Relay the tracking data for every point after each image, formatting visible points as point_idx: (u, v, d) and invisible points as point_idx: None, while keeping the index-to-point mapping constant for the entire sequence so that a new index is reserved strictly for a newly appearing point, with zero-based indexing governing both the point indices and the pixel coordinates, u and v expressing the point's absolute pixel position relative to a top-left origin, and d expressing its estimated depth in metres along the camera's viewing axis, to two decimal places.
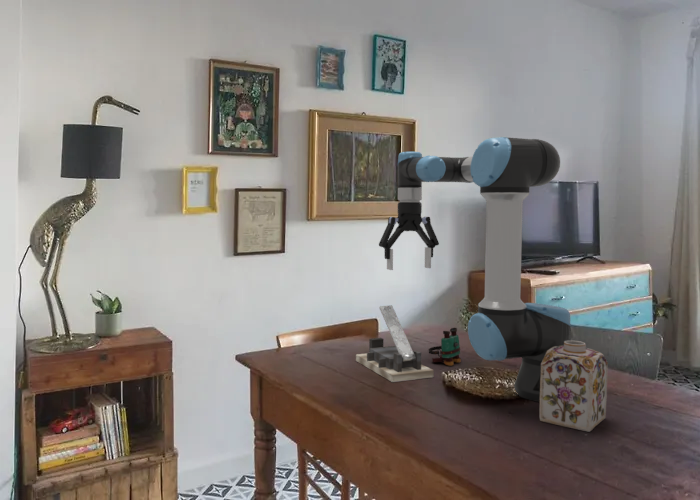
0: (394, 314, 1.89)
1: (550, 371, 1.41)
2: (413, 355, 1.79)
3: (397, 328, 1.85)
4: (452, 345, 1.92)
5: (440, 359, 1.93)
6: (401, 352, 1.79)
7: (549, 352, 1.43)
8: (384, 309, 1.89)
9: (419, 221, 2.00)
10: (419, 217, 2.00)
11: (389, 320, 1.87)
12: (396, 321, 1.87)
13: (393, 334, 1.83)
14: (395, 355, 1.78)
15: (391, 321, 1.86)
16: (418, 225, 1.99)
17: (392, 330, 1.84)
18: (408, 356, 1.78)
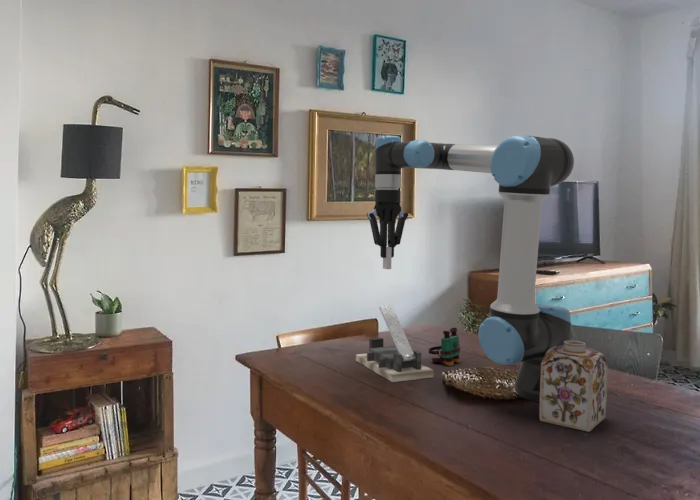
0: (394, 314, 1.89)
1: (550, 371, 1.41)
2: (413, 355, 1.79)
3: (397, 328, 1.85)
4: (452, 345, 1.92)
5: (440, 359, 1.93)
6: (401, 352, 1.79)
7: (549, 352, 1.43)
8: (384, 309, 1.89)
9: (397, 210, 1.88)
10: (399, 206, 1.88)
11: (389, 320, 1.87)
12: (396, 321, 1.87)
13: (393, 334, 1.83)
14: (395, 355, 1.78)
15: (391, 321, 1.86)
16: (394, 216, 1.87)
17: (392, 330, 1.84)
18: (408, 356, 1.78)
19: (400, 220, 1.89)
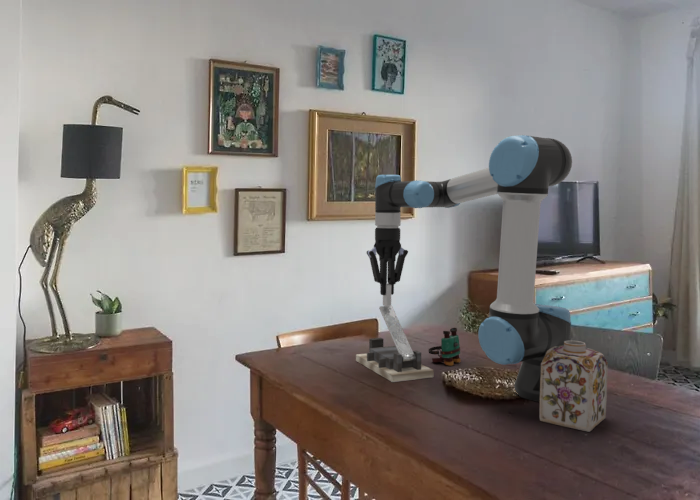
0: (394, 314, 1.89)
1: (550, 371, 1.41)
2: (413, 355, 1.79)
3: (397, 328, 1.85)
4: (452, 345, 1.92)
5: (440, 359, 1.93)
6: (401, 352, 1.79)
7: (549, 352, 1.43)
8: (384, 309, 1.89)
9: (397, 247, 1.89)
10: (399, 244, 1.89)
11: (389, 320, 1.87)
12: (396, 321, 1.87)
13: (393, 334, 1.83)
14: (395, 355, 1.78)
15: (391, 322, 1.87)
16: (394, 253, 1.88)
17: (392, 330, 1.84)
18: (408, 356, 1.78)
19: (400, 257, 1.90)
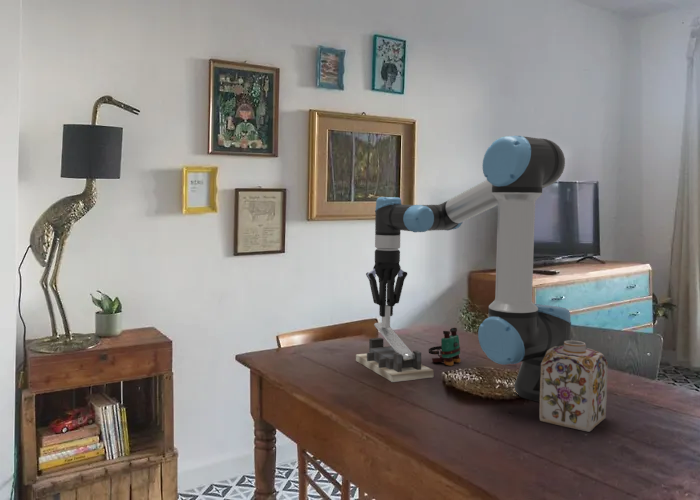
0: (389, 328, 1.92)
1: (550, 371, 1.41)
2: (412, 354, 1.79)
3: (394, 337, 1.87)
4: (452, 345, 1.92)
5: (440, 359, 1.93)
6: (400, 353, 1.79)
7: (549, 352, 1.43)
8: (379, 325, 1.93)
9: (396, 269, 1.89)
10: (399, 266, 1.90)
11: (385, 332, 1.90)
12: (392, 332, 1.90)
13: (390, 341, 1.85)
14: (395, 355, 1.78)
15: (387, 333, 1.89)
16: (393, 275, 1.89)
17: (389, 338, 1.86)
18: (407, 354, 1.78)
19: (399, 279, 1.91)
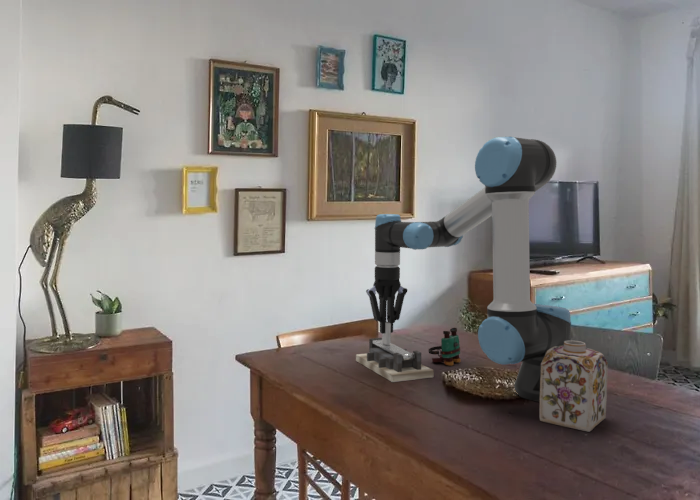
0: None
1: (550, 371, 1.41)
2: (411, 353, 1.79)
3: (392, 346, 1.88)
4: (452, 345, 1.92)
5: (440, 359, 1.93)
6: None
7: (549, 352, 1.43)
8: (377, 341, 1.95)
9: (396, 286, 1.90)
10: (399, 282, 1.90)
11: (384, 344, 1.91)
12: (390, 344, 1.91)
13: (389, 348, 1.86)
14: (395, 355, 1.78)
15: None
16: (393, 292, 1.89)
17: (387, 347, 1.87)
18: (407, 354, 1.79)
19: (399, 295, 1.91)
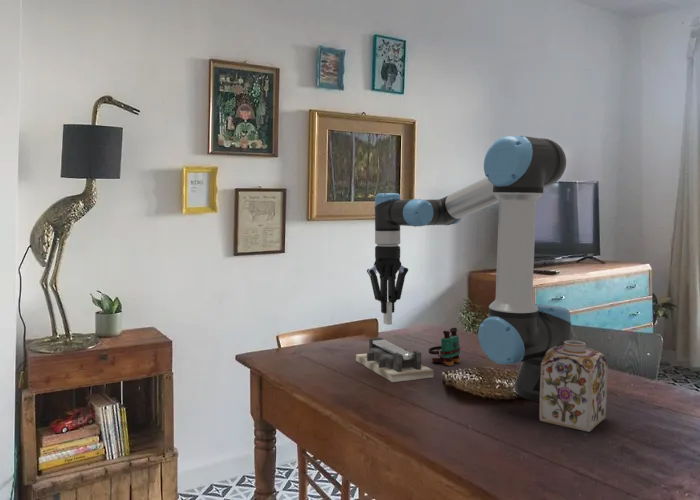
0: (387, 342, 1.94)
1: (550, 371, 1.41)
2: (411, 353, 1.79)
3: (392, 346, 1.88)
4: (452, 345, 1.92)
5: (440, 359, 1.93)
6: None
7: (549, 352, 1.43)
8: (377, 341, 1.95)
9: (397, 265, 1.89)
10: (399, 262, 1.89)
11: (384, 344, 1.91)
12: (390, 344, 1.91)
13: (389, 348, 1.86)
14: (395, 355, 1.78)
15: (385, 344, 1.90)
16: (394, 272, 1.88)
17: (387, 347, 1.87)
18: (407, 354, 1.79)
19: (400, 275, 1.90)
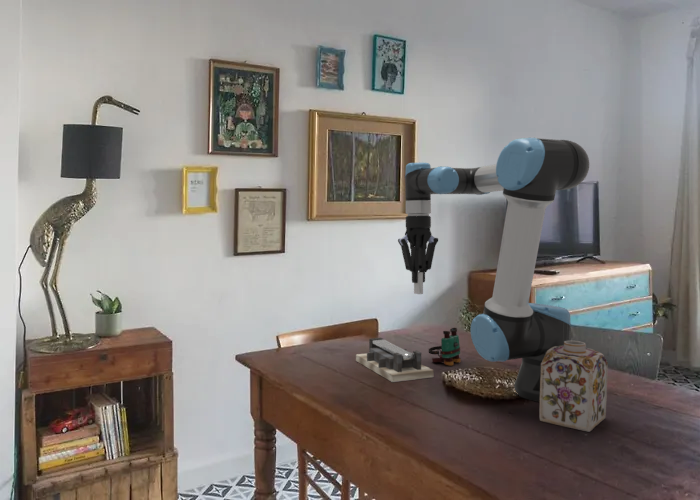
0: (387, 342, 1.94)
1: (550, 371, 1.41)
2: (411, 353, 1.79)
3: (392, 346, 1.88)
4: (452, 345, 1.91)
5: (440, 359, 1.93)
6: None
7: (549, 352, 1.43)
8: (377, 341, 1.95)
9: (427, 235, 1.90)
10: (430, 232, 1.90)
11: (384, 344, 1.91)
12: (390, 344, 1.91)
13: (389, 348, 1.86)
14: (395, 355, 1.78)
15: (385, 344, 1.90)
16: (425, 241, 1.89)
17: (387, 347, 1.87)
18: (407, 354, 1.79)
19: (430, 245, 1.91)
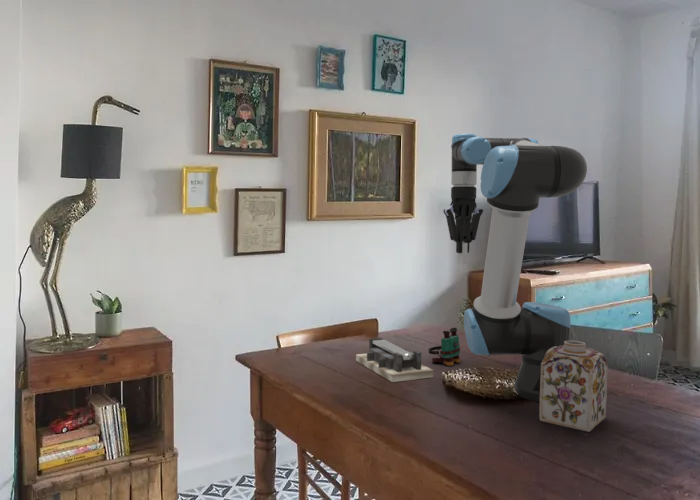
0: (387, 342, 1.94)
1: (550, 371, 1.41)
2: (411, 353, 1.79)
3: (392, 346, 1.88)
4: (452, 345, 1.92)
5: (440, 359, 1.93)
6: None
7: (549, 352, 1.43)
8: (377, 341, 1.95)
9: (473, 206, 1.92)
10: (475, 203, 1.92)
11: (384, 344, 1.91)
12: (390, 344, 1.91)
13: (389, 348, 1.86)
14: (395, 355, 1.78)
15: (385, 344, 1.90)
16: (470, 212, 1.91)
17: (387, 347, 1.87)
18: (407, 354, 1.79)
19: (475, 216, 1.93)
